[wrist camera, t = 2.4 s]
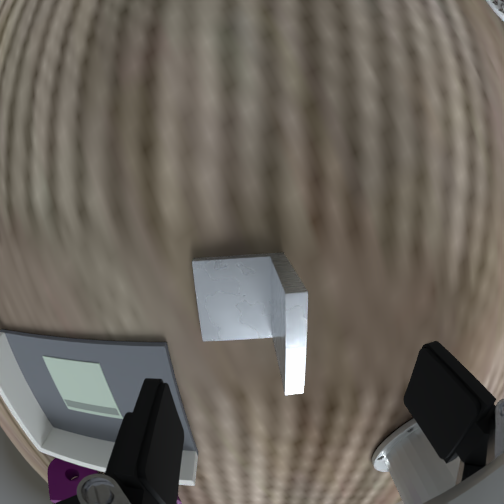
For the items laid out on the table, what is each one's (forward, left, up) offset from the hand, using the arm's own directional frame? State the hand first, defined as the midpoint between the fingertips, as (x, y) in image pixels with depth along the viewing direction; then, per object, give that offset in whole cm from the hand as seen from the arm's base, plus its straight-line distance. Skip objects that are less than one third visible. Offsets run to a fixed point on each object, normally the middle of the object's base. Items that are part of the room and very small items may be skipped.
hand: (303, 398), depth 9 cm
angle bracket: (+2, +1, -11) cm, 11 cm away
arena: (+18, +12, -11) cm, 24 cm away
